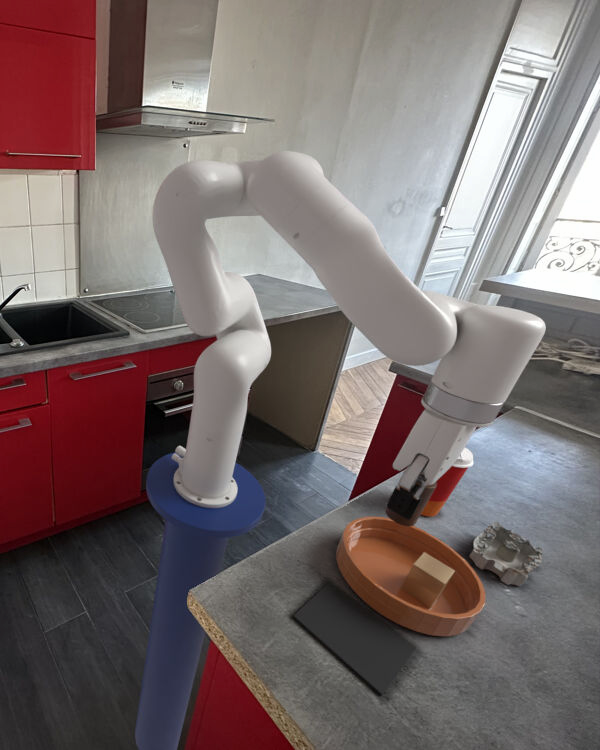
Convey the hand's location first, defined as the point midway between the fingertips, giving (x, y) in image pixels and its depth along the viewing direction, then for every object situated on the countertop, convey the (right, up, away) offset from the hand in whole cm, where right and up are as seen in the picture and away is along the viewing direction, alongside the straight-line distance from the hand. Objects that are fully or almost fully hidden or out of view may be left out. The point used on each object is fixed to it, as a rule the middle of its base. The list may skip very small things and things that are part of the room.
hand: (405, 505), depth 62 cm
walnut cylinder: (0, -2, +1) cm, 2 cm away
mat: (-10, -17, -4) cm, 20 cm away
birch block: (+3, -14, +2) cm, 14 cm away
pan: (+2, -13, +4) cm, 14 cm away
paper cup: (+17, -6, +19) cm, 26 cm away
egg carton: (+22, -12, +8) cm, 26 cm away
